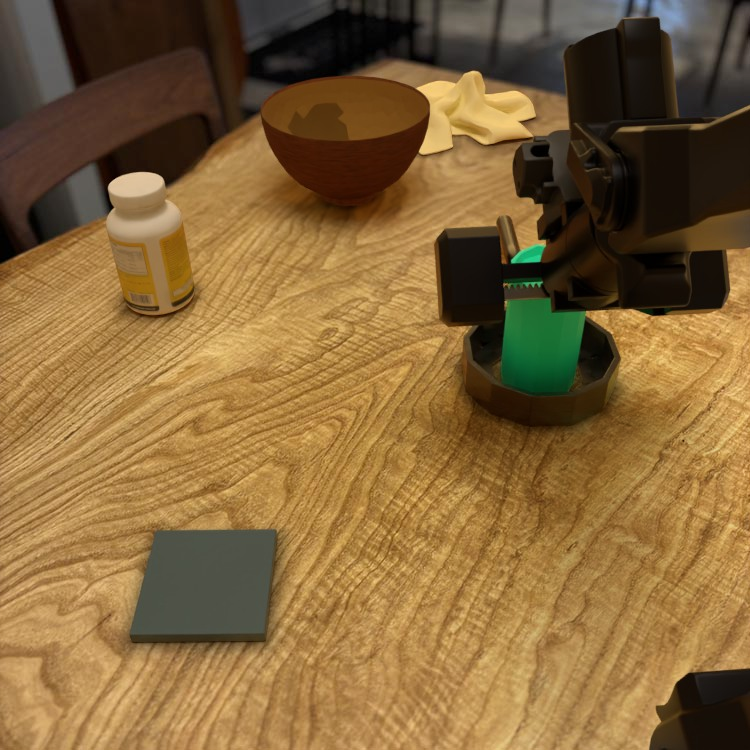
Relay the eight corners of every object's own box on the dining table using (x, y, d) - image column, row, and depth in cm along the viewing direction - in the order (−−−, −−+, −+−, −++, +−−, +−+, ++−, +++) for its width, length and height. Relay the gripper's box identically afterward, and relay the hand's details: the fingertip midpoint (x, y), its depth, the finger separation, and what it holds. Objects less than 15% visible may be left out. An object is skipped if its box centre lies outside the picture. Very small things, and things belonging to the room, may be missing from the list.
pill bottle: (200, 278, 82) (180, 165, 74) (190, 317, 77) (169, 200, 69) (132, 280, 82) (106, 167, 74) (118, 319, 77) (88, 202, 69)
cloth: (408, 85, 120) (408, 41, 116) (541, 94, 117) (546, 48, 113) (374, 151, 103) (373, 102, 100) (528, 164, 100) (533, 113, 96)
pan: (628, 424, 65) (635, 394, 63) (470, 427, 65) (473, 397, 63) (560, 237, 87) (564, 210, 85) (442, 239, 87) (443, 213, 85)
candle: (489, 360, 71) (500, 233, 64) (556, 348, 72) (575, 223, 65) (515, 405, 67) (530, 275, 59) (586, 393, 68) (610, 263, 60)
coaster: (277, 536, 57) (276, 528, 56) (265, 641, 51) (264, 633, 50) (157, 538, 57) (155, 529, 56) (131, 642, 51) (128, 634, 50)
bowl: (416, 238, 87) (418, 145, 81) (249, 226, 90) (238, 135, 83) (436, 163, 100) (439, 79, 94) (291, 155, 103) (284, 72, 97)
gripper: (760, 100, 50) (660, 186, 65) (443, 113, 49) (418, 197, 65) (780, 287, 49) (674, 329, 64) (456, 304, 48) (428, 343, 63)
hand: (549, 295), depth 64 cm, fingers open, 9 cm apart
